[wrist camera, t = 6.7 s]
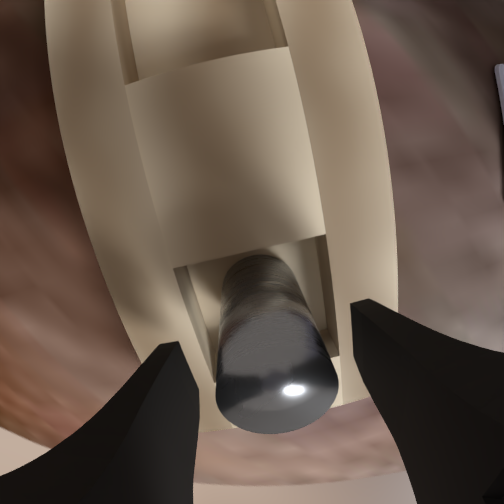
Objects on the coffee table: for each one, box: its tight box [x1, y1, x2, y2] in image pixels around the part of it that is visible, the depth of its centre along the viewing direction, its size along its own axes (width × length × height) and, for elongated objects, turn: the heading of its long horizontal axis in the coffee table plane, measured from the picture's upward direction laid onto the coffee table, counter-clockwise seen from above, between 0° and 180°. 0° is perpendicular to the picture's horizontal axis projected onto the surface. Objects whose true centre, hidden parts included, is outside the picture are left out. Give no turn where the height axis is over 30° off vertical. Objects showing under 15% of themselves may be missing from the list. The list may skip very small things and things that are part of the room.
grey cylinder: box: [215, 254, 339, 434], centre depth 10 cm, size 3×3×6 cm
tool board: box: [44, 0, 398, 433], centre depth 11 cm, size 10×22×3 cm, turn 12°
